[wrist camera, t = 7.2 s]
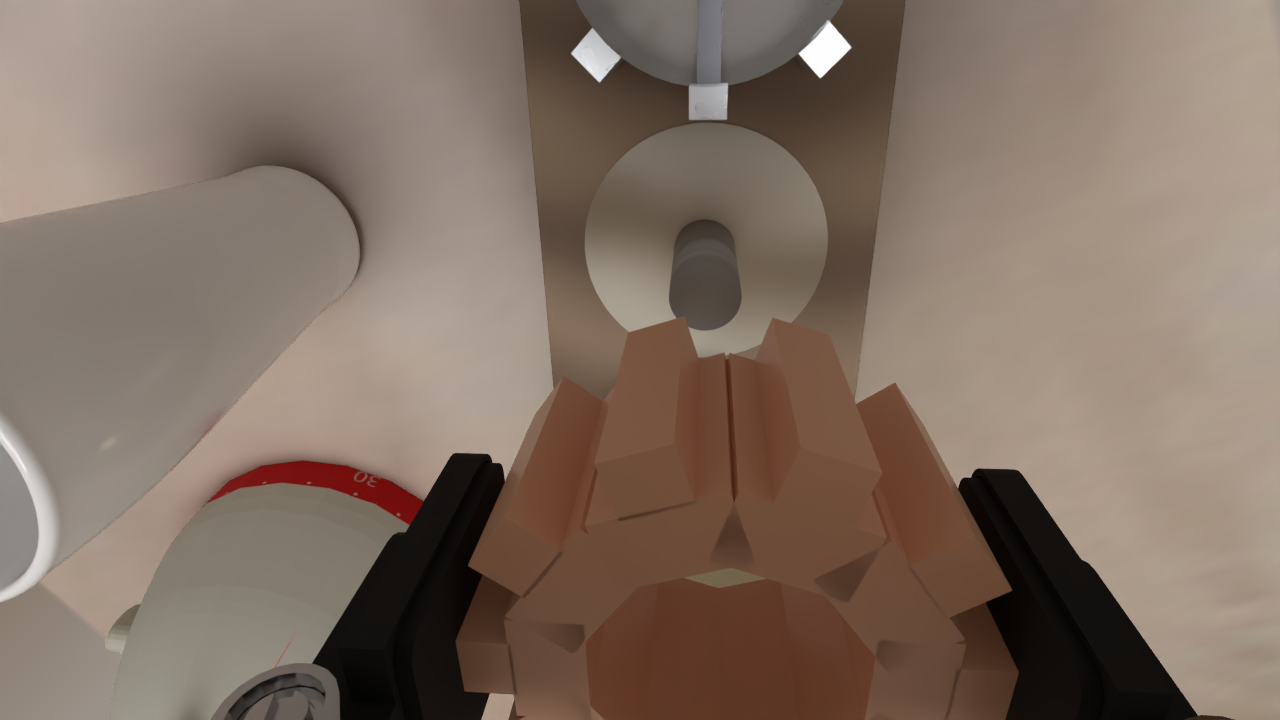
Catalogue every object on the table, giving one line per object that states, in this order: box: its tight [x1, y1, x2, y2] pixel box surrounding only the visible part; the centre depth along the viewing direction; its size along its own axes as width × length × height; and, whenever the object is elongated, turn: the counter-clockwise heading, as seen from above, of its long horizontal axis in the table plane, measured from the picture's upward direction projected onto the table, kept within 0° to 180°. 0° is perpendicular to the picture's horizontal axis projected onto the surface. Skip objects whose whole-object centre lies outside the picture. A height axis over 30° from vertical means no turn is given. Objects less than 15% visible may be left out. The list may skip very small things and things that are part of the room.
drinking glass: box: [0, 165, 360, 602], centre depth 19 cm, size 7×7×15 cm
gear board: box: [519, 0, 905, 401], centre depth 22 cm, size 30×11×6 cm, turn 1°
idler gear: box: [455, 316, 1019, 720], centre depth 10 cm, size 7×7×4 cm
